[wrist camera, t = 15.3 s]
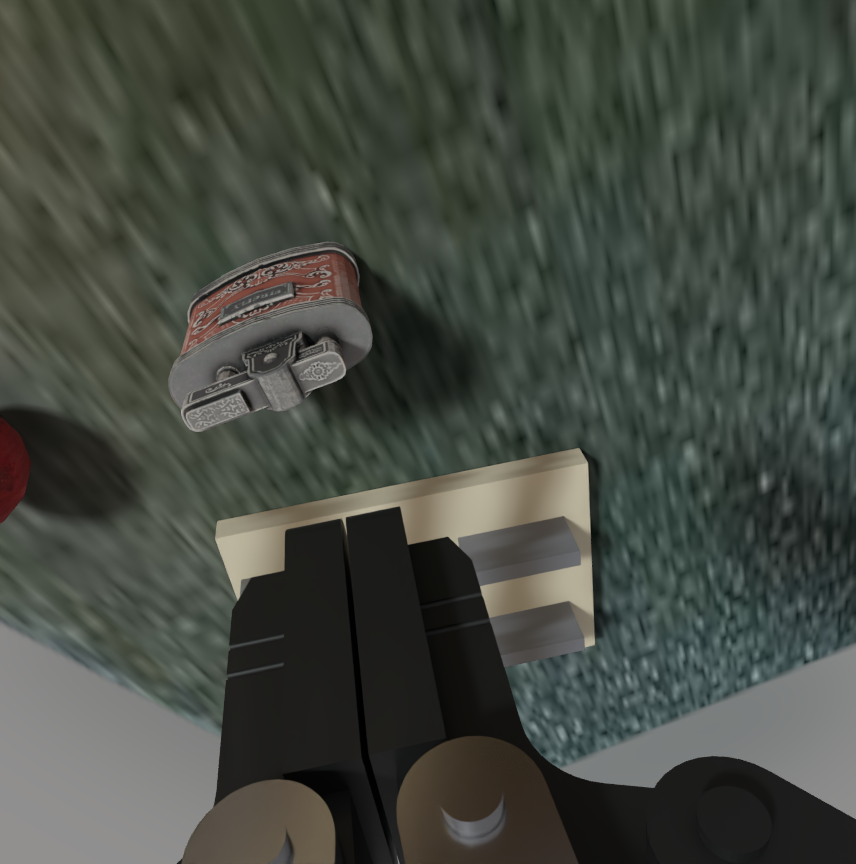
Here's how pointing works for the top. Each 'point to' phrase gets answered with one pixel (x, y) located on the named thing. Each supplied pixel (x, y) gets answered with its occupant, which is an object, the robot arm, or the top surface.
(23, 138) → the top surface
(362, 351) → the lighter
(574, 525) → the panel
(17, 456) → the onion
